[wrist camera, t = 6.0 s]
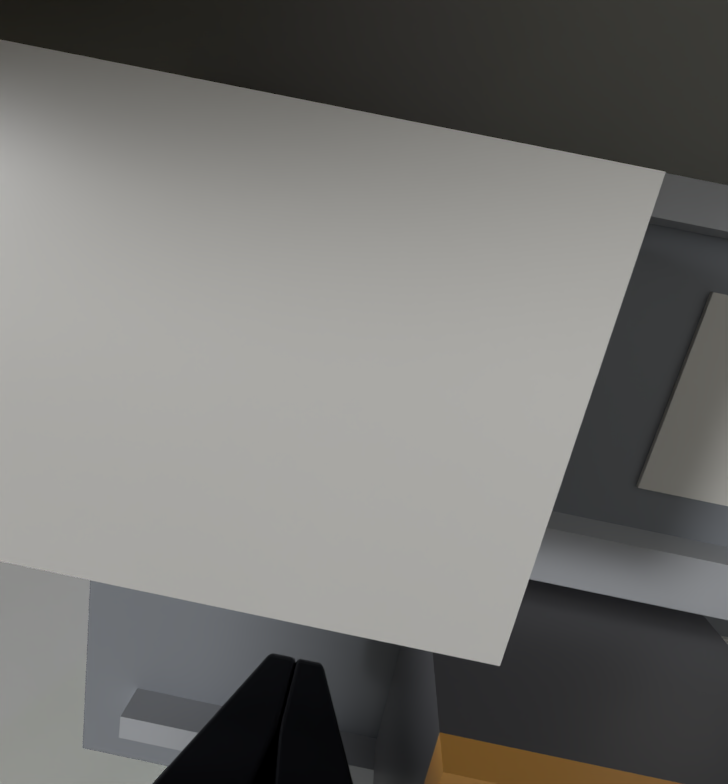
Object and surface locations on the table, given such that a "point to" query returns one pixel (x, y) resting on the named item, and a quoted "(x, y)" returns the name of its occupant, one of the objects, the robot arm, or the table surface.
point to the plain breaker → (294, 347)
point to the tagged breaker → (565, 701)
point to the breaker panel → (560, 541)
